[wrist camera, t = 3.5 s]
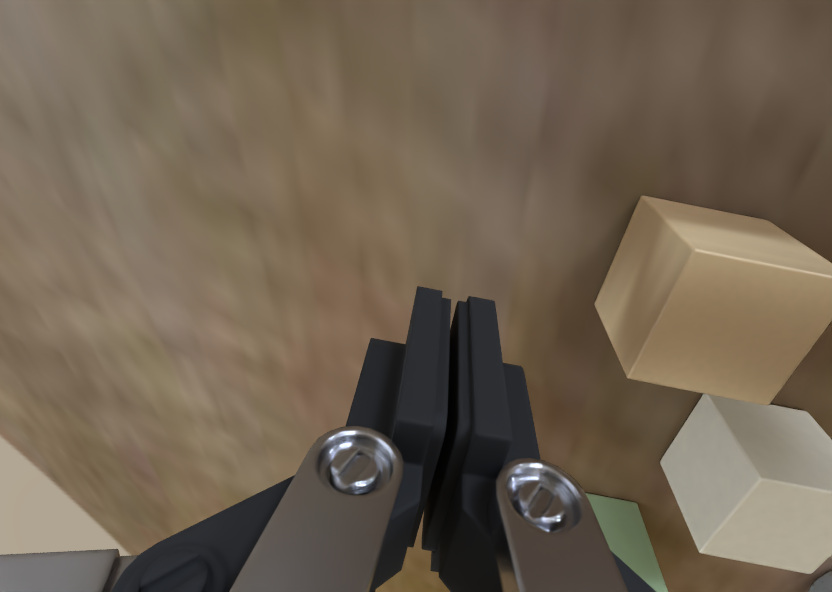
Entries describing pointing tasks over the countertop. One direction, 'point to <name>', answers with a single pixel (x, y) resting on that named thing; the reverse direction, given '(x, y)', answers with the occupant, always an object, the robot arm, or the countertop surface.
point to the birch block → (713, 301)
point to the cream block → (754, 483)
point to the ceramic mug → (822, 583)
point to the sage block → (628, 537)
